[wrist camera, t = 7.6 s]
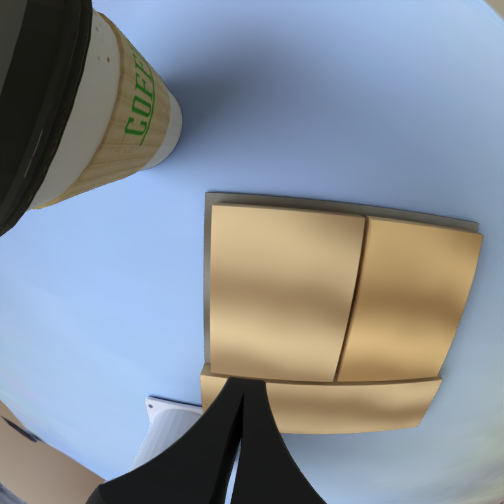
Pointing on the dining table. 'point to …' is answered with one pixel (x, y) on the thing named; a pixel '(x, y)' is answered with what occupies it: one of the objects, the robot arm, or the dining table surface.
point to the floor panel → (297, 311)
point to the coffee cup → (74, 105)
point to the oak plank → (406, 299)
